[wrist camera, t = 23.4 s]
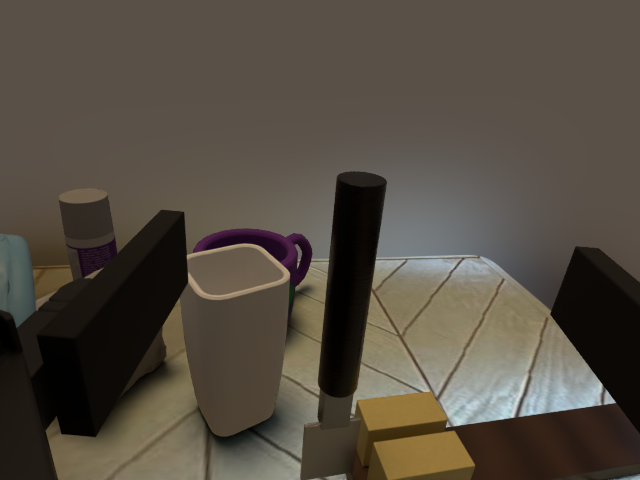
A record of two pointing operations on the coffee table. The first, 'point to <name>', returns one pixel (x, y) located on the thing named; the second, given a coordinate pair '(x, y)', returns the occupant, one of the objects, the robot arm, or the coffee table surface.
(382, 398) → the butter
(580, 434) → the board
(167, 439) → the coffee table surface
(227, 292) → the cup
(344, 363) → the knife
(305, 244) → the mug
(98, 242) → the container
